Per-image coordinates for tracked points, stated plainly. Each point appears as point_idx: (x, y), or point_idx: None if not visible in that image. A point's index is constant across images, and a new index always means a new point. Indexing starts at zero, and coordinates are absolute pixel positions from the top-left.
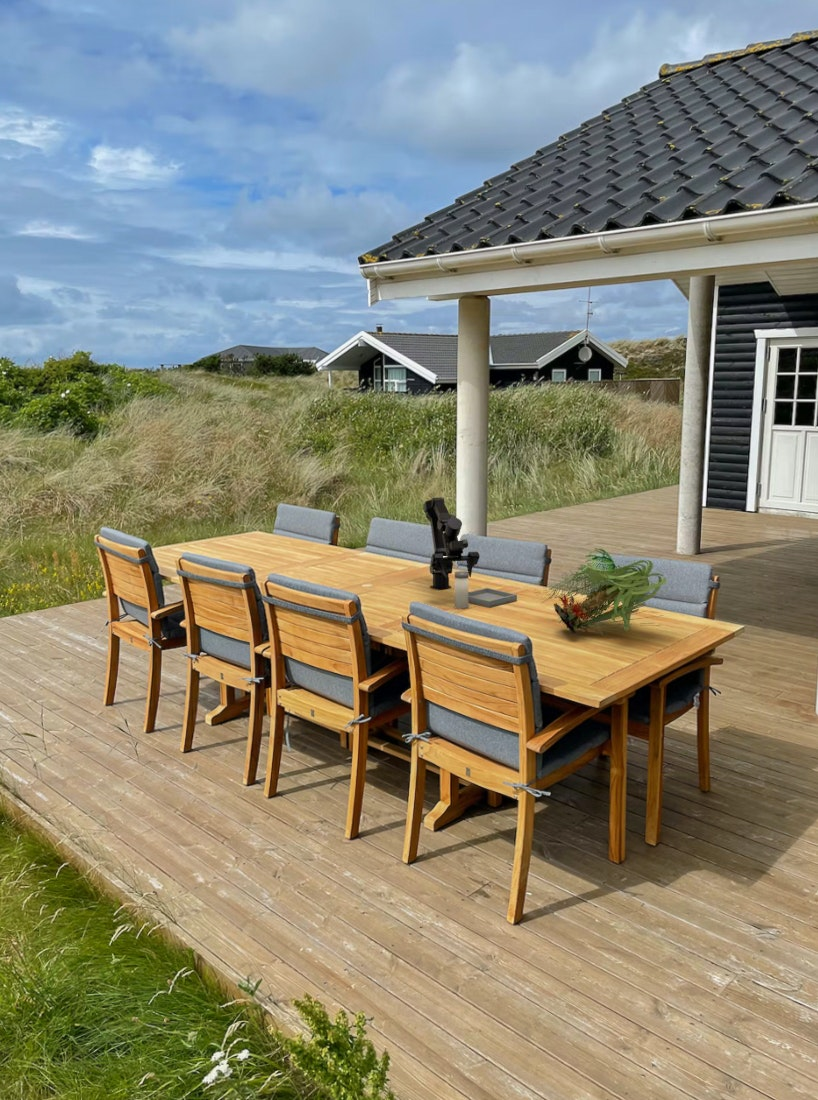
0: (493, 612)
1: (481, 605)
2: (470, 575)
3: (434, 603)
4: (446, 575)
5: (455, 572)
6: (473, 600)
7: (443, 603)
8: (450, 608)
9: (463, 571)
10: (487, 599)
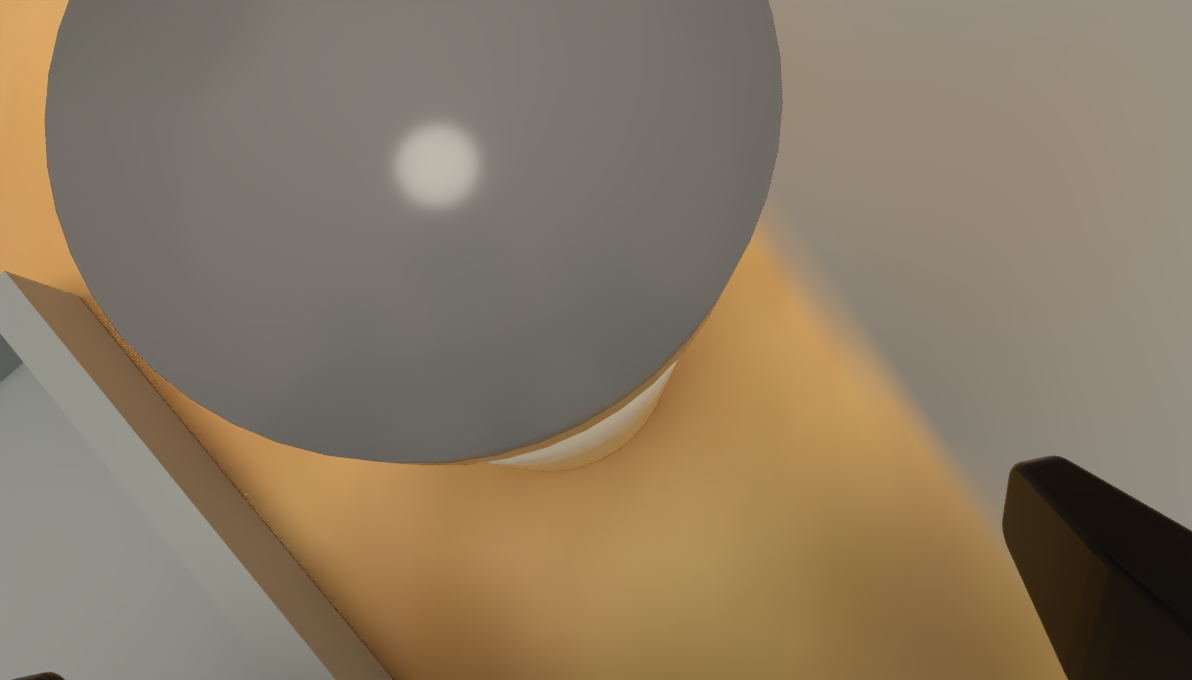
0: (63, 13)
1: (185, 431)
2: (31, 677)
3: (1041, 637)
4: (1111, 489)
5: (731, 174)
6: (290, 590)
7: (869, 632)
8: (745, 268)
9: (277, 418)
10: None
